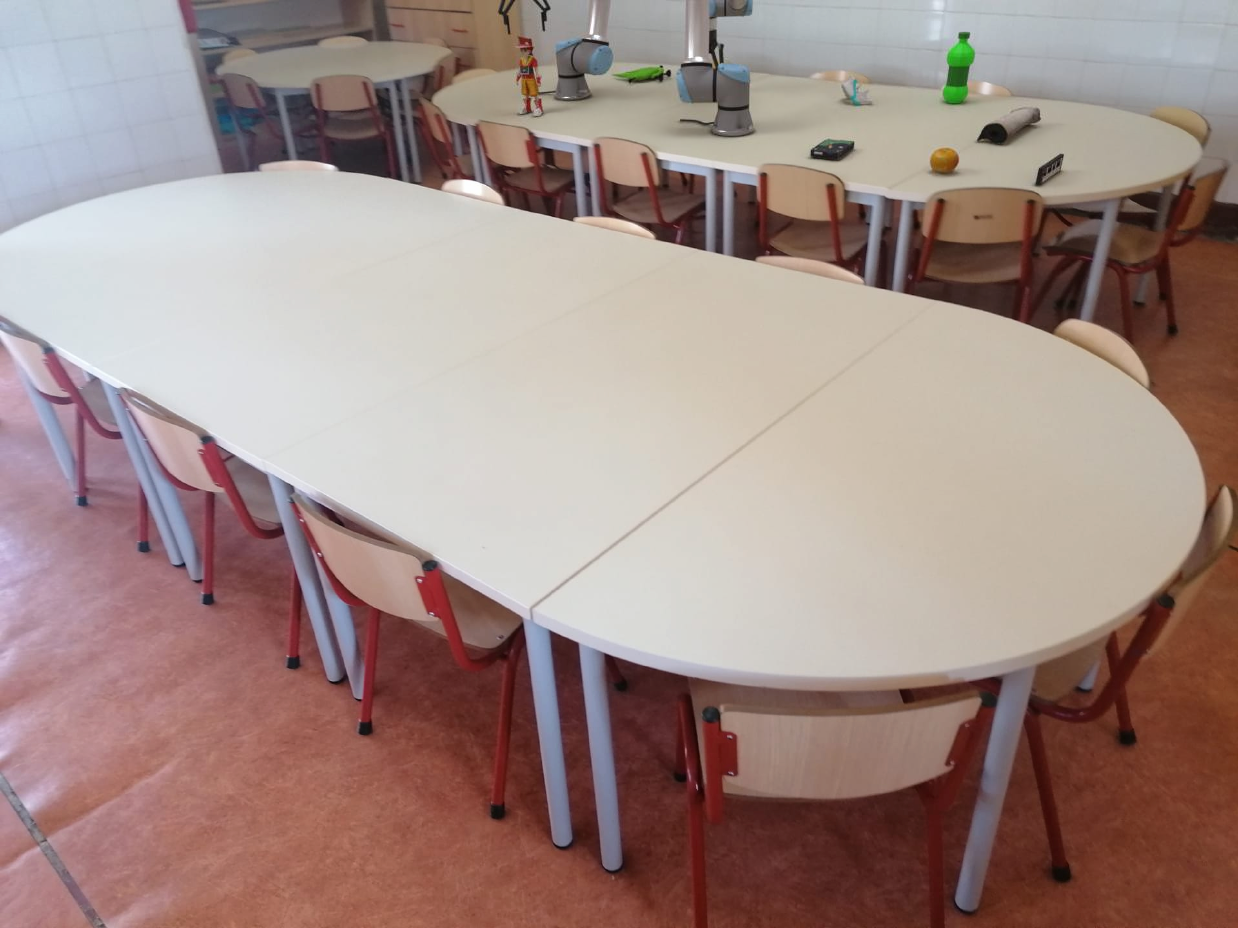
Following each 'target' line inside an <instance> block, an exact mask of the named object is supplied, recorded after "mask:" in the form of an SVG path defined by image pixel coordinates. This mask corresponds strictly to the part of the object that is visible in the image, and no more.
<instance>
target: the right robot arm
mask: <svg viewBox="0 0 1238 928" xmlns="http://www.w3.org/2000/svg"><path fill="white" fill-rule="evenodd" d="M753 4H754V0H685V30H684V31H685V32H684V33H685V35H684V37H685V39H684V59H683V61H681V62H680V68H678V69H676V71H675V72H676V85H677V92H678V98H679V101H681V103H683V104H709V103H710V104H711V103H712V104H715V103H717V111H716V114H715V118H714V120H713V121H710V122H704V121H702V120H698V119H689V118H686V119H685V118H680V119H679V121H680V122H691V123H698V124H701V125H704V126H709V125H712V133H713V134H715V135H717V136H721V137H741V136H746V135H750V134H752V133H754V127H755V126H754V122H753V118H752V115H751V111H750V94H751V93H750V90H751V89H750V88H751V87H750V86H751V85H750V84H751V71H750V69H749V68H748V67H747V65H743V64H739V63H734V62H725V59H724V58H725V57H724V47H725V43H722V42H718V37H717V36H718V30H717V28H718V18H726V17H727V18H728V17H729V18H730V17H732V18H733V17H749V16H752V14H753V9H754V7H753V6H754V5H753ZM716 49H718V58H717V55H716ZM709 54H710V55H709ZM709 56H711V58H712V59H710V58H709ZM718 60H719V62H718ZM713 64H714V65H713ZM713 66H714V68H713Z"/></svg>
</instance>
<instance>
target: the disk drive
mask: <svg viewBox="0 0 1238 928" xmlns="http://www.w3.org/2000/svg"><path fill="white" fill-rule="evenodd" d="M854 149H855V140H844V139H831V138H826V139H825V140H823V141H821V142H819V143H818V144H817V145H814V147H812V148H811V149H810V153H809V156H810V157H812V158H817V159H822V160H823V159H825V160H835V161H838V160H840V159H842V158H844V156H846V155H847V154H850V152H851V151H853V150H854Z"/></svg>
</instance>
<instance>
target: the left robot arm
mask: <svg viewBox="0 0 1238 928" xmlns="http://www.w3.org/2000/svg"><path fill="white" fill-rule="evenodd" d="M506 1H507V0H500V4H499V7H498V10H497V14H498V15H500V16H502V18H503V19H502V20H503V24H504V26H506V27H507V28H506V29H507V35H508V36H509V35H511V27H510V25H511V24H510V18H509V17H510V15H508V13H509V11H510V10H511V8H512V6H513V5H514V3H515V2H516V0H509V2H508V3H507V5H506V6H505V4H506ZM532 1H533V2H534V3H535V4H536V5H537V6H538V8H539V9H540V19H541V28H542V32H546V26H545V25H546V23H545V22H547V21H548V16H547V15H548V14H547V12H548V11H551V9H552V8H551V6H550V3H549V2H548V0H542V2H543V4H544V6H545V7H544V6H543V5H542V4H541V2H540V1H539V0H532ZM611 1H612V0H589V5H588V12H587V13H588V14H587V22H586V32H585V34H584V35H583V36H582V37H581V38H580V37H579V38H571V39H566V40H565V39H564V40H561V41H558V42H557V43H556V44H555V60H556V68H557V85H556V89H555V90H549V91H539V94H538V95H545V94H554V93H555V99H556V100H559V101H581V100H584V99H587V98H590V96H591V91H590V88H589V87H590V86H589V84H588V82H587V80H586V76H585V75H592V76H603V75H605V74H606V73H608V72H609V70H610V69H611V67H612V65H613V61H614V53H613V51H612V48H611V47H610V41H609V40H608V38H607V36H608V35H607V33H608V25H609V20H610V19H609V18H610V9H611ZM504 7H505V8H504Z"/></svg>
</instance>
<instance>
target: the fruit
mask: <svg viewBox="0 0 1238 928" xmlns="http://www.w3.org/2000/svg"><path fill="white" fill-rule="evenodd" d="M959 163H960V156H959V154H958V152H957V151H956V150H955V149H953V148H951V147H942V148H938V149H936V150H934V151H933V153H932V154H931V155H930V159H929V166H930V168H931V169H932V170H933V171H934V172H936V173H939V174H940V173H943V174H944V173H945V174H946V173H951V172H953V171H954V170H956V168H957V167H958V165H959Z"/></svg>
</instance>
